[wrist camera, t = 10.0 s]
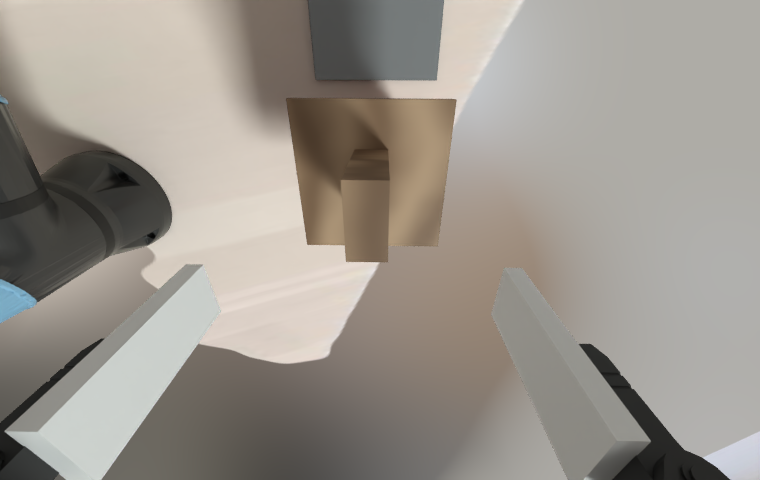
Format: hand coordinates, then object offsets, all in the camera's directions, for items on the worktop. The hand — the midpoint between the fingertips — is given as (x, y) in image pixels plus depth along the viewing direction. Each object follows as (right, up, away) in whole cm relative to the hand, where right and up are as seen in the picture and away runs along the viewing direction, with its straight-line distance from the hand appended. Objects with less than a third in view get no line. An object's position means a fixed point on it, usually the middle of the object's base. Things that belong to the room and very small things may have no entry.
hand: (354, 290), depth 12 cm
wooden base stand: (0, +8, +15) cm, 17 cm away
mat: (+1, +29, +18) cm, 34 cm away
